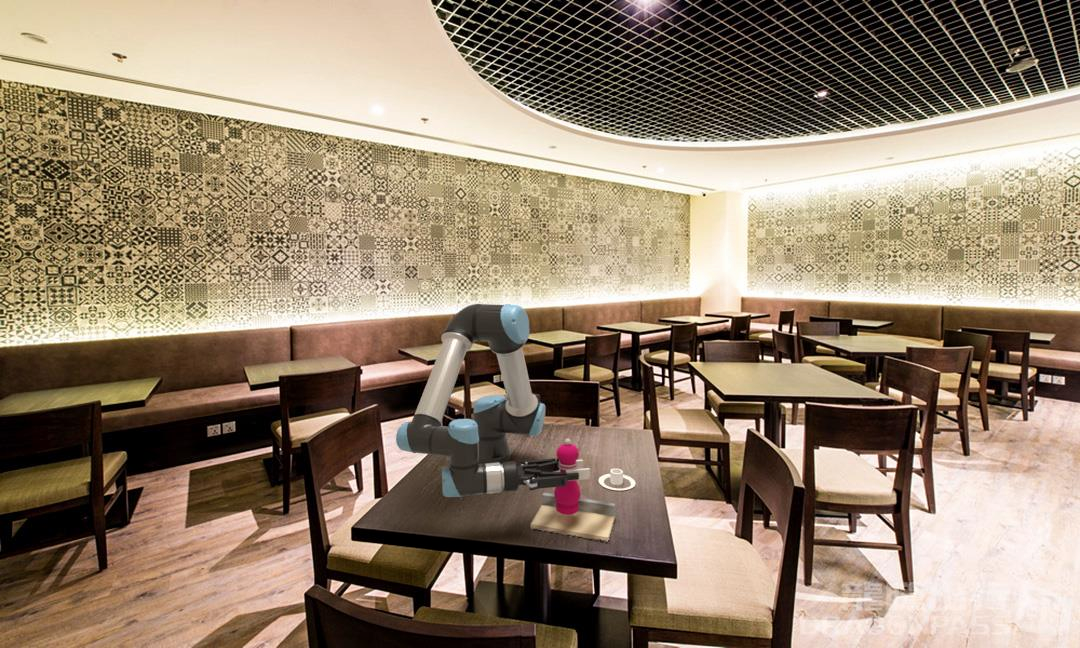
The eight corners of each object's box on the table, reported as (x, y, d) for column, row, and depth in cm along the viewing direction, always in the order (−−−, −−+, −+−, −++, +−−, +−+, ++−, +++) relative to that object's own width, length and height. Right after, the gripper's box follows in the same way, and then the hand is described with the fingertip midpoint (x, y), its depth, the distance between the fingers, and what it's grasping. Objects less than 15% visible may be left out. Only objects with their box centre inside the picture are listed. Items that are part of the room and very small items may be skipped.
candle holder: (643, 486, 146) (643, 473, 145) (615, 496, 140) (615, 482, 139) (618, 472, 156) (618, 460, 155) (591, 481, 150) (591, 468, 149)
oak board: (530, 529, 121) (530, 513, 121) (543, 507, 132) (543, 492, 132) (608, 543, 115) (608, 526, 114) (614, 518, 126) (615, 503, 126)
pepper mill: (583, 504, 125) (584, 435, 123) (576, 518, 119) (577, 445, 116) (558, 500, 128) (558, 432, 125) (550, 513, 121) (550, 441, 119)
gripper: (497, 475, 127) (576, 468, 132) (506, 507, 110) (597, 497, 115) (497, 450, 126) (576, 443, 131) (506, 478, 109) (597, 469, 114)
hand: (586, 468), depth 123 cm, fingers closed on pepper mill, 5 cm apart
